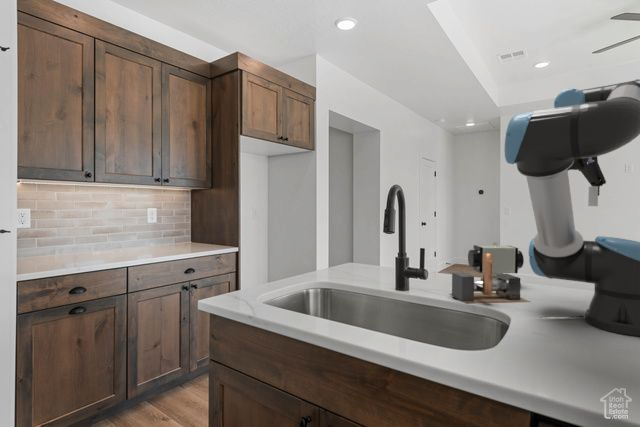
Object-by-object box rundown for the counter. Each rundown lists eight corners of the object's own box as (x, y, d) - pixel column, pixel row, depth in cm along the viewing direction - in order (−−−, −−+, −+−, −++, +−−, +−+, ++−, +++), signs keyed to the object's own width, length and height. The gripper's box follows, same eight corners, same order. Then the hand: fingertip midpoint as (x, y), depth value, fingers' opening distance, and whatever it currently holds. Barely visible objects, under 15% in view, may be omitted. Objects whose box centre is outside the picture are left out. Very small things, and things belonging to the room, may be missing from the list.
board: (530, 304, 112) (531, 301, 112) (465, 306, 110) (465, 303, 110) (507, 294, 124) (507, 292, 124) (448, 295, 122) (448, 293, 122)
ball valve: (513, 285, 137) (513, 241, 137) (523, 291, 129) (524, 243, 128) (466, 284, 139) (466, 240, 138) (473, 289, 131) (474, 242, 130)
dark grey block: (473, 301, 113) (474, 276, 112) (462, 301, 112) (462, 276, 112) (463, 295, 120) (463, 272, 119) (451, 295, 119) (452, 272, 119)
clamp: (520, 299, 114) (520, 278, 114) (508, 300, 114) (508, 278, 114) (506, 294, 121) (507, 273, 121) (495, 294, 121) (496, 274, 121)
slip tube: (514, 289, 120) (514, 249, 119) (535, 297, 109) (535, 253, 109) (458, 290, 118) (459, 250, 117) (474, 298, 108) (475, 254, 107)
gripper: (600, 143, 117) (598, 206, 118) (531, 142, 115) (529, 206, 116) (621, 139, 110) (619, 206, 111) (548, 138, 108) (546, 206, 108)
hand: (573, 206), depth 113 cm, fingers open, 13 cm apart
